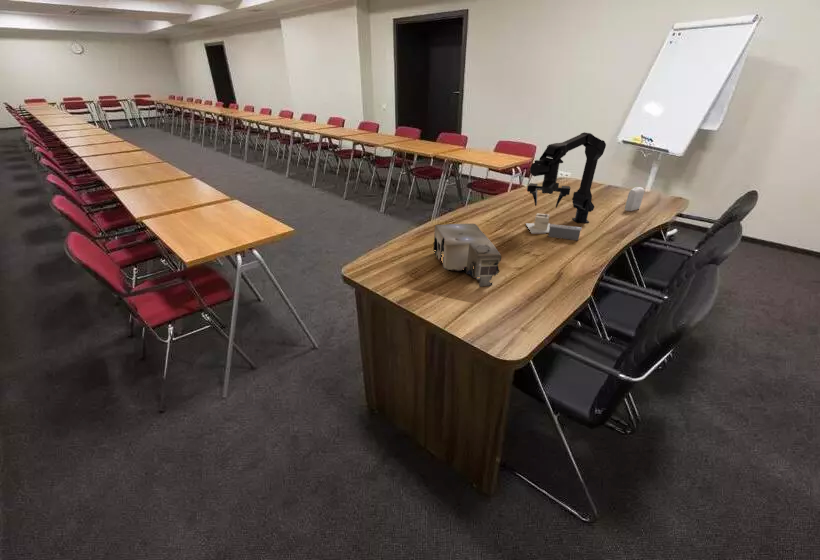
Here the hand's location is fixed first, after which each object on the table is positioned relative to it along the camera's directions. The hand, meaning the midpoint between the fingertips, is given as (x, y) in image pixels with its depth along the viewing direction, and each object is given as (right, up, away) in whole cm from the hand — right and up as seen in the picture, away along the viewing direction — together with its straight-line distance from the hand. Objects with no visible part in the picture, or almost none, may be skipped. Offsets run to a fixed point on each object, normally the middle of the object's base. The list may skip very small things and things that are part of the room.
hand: (545, 206), depth 181 cm
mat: (-1, -10, +5) cm, 11 cm away
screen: (+6, -15, -6) cm, 17 cm away
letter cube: (-1, -9, +4) cm, 10 cm away
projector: (-42, -29, -30) cm, 60 cm away
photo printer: (+59, +4, +31) cm, 67 cm away
